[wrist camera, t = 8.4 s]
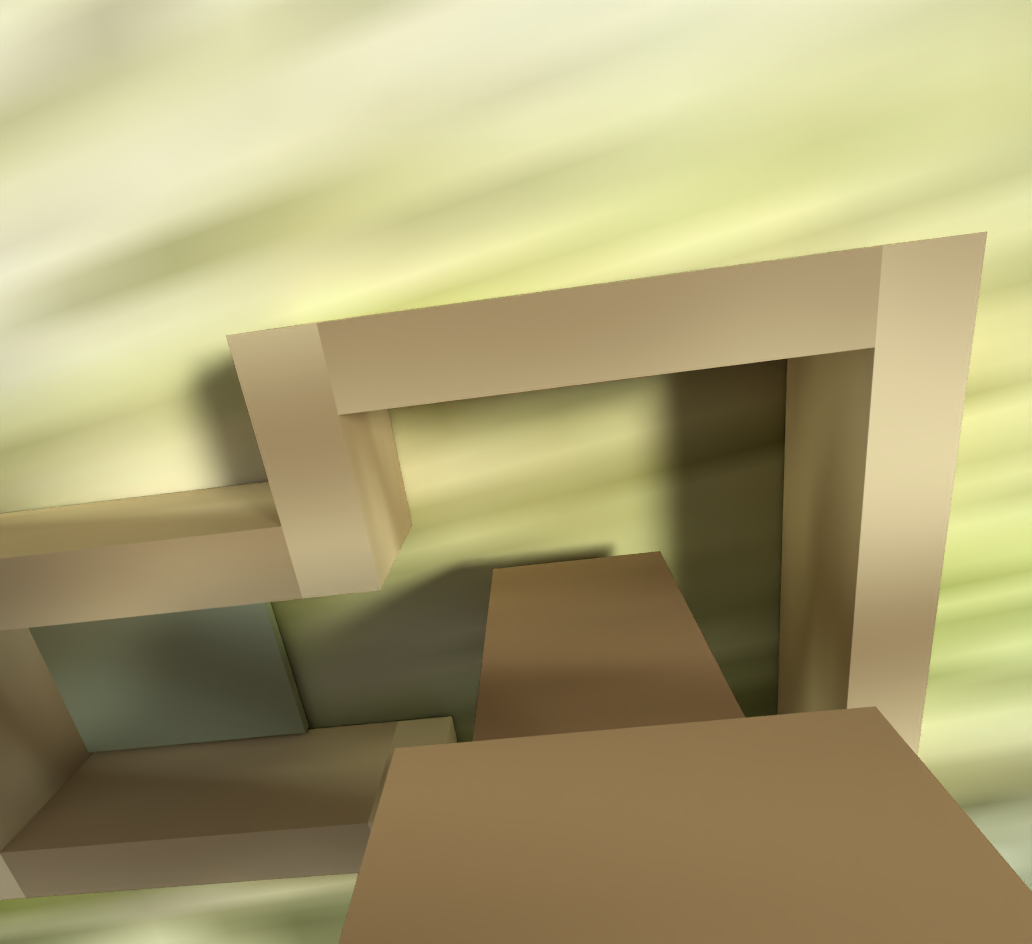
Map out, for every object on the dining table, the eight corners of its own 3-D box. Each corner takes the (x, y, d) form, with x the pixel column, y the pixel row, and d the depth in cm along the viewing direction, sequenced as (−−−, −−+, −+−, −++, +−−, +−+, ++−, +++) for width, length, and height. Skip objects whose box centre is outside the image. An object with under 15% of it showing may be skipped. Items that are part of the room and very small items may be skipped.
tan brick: (670, 767, 11) (921, 1603, 4) (526, 779, 11) (527, 1598, 4) (654, 443, 9) (1139, 1017, 2) (476, 464, 9) (306, 1062, 2)
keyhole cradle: (826, 818, 13) (892, 935, 10) (109, 874, 14) (25, 991, 11) (866, 246, 9) (987, 231, 6) (-143, 385, 10) (-348, 413, 7)
